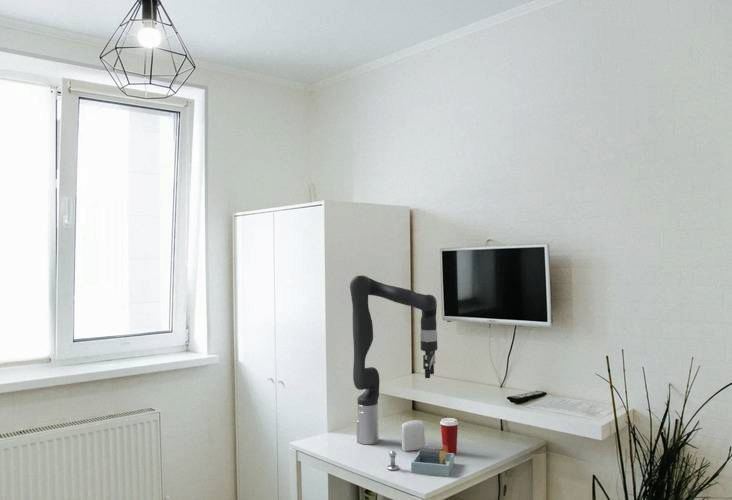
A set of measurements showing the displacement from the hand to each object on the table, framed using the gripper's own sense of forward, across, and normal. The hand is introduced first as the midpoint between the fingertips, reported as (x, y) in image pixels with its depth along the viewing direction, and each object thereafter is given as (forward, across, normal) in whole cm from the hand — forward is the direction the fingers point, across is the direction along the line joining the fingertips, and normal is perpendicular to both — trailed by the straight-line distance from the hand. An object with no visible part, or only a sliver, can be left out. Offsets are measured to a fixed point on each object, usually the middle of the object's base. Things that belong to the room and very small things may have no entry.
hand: (429, 376), depth 258 cm
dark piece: (+29, +28, +6) cm, 41 cm away
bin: (+30, +28, +7) cm, 42 cm away
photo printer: (+30, +9, -6) cm, 32 cm away
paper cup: (+30, +10, +10) cm, 33 cm away
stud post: (+30, +33, -8) cm, 46 cm away
